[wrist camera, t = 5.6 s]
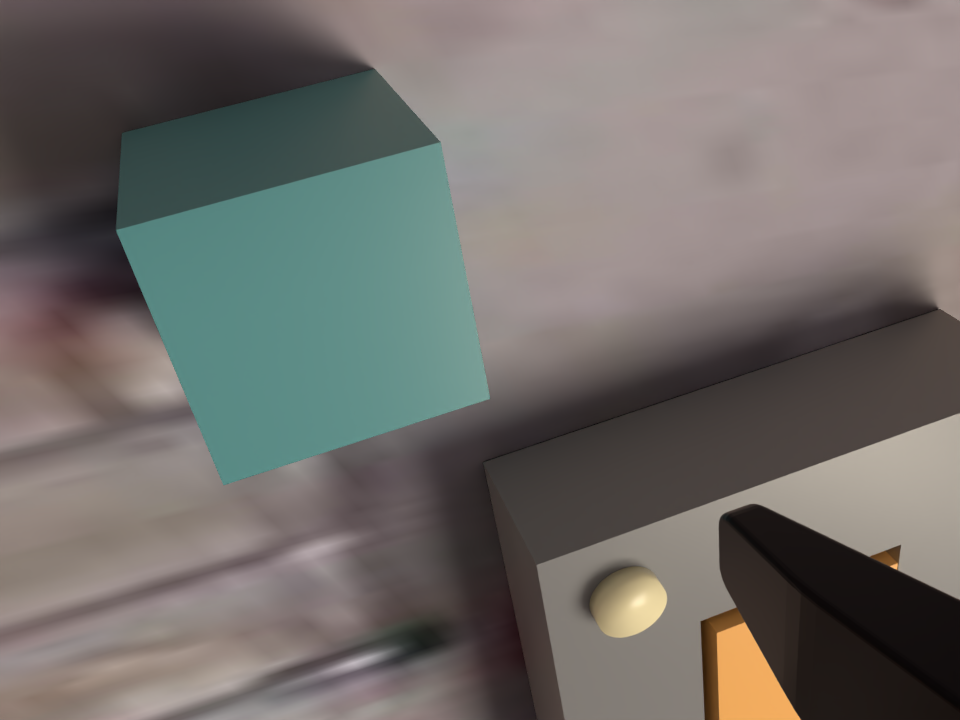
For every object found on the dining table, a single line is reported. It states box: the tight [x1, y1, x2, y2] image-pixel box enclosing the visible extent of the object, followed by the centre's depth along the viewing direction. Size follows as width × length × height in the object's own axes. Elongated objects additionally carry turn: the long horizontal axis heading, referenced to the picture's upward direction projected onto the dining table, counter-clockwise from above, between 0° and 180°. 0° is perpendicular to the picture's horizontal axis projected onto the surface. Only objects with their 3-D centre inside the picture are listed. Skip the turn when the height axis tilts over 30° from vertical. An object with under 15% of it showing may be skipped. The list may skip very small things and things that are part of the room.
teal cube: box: [116, 69, 490, 485], centre depth 17 cm, size 5×5×5 cm
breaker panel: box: [483, 309, 960, 720], centre depth 27 cm, size 14×14×4 cm
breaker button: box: [700, 551, 898, 720], centre depth 27 cm, size 5×5×2 cm
